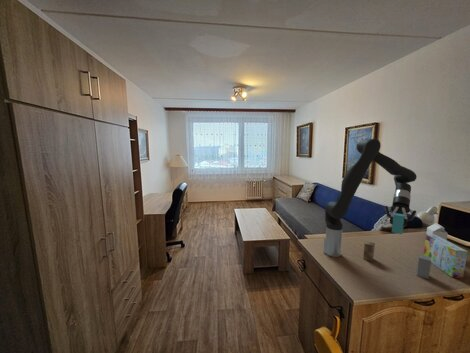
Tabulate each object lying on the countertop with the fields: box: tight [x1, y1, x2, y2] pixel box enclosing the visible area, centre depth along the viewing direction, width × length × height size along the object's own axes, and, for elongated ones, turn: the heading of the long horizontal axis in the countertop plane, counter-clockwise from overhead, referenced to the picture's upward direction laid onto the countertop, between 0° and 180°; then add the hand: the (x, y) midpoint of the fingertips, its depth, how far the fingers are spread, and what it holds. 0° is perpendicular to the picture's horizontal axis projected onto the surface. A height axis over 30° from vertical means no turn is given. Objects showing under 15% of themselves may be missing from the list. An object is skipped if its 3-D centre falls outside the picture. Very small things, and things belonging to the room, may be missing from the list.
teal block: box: [391, 213, 405, 235], centre depth 109 cm, size 4×4×10 cm
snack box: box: [423, 234, 469, 279], centre depth 111 cm, size 21×6×15 cm, turn 168°
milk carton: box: [425, 222, 448, 241], centre depth 127 cm, size 7×7×19 cm
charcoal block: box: [416, 254, 432, 280], centre depth 104 cm, size 4×4×10 cm
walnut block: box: [362, 240, 376, 262], centre depth 120 cm, size 4×4×10 cm
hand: (397, 224), depth 108 cm, fingers closed on teal block, 4 cm apart
